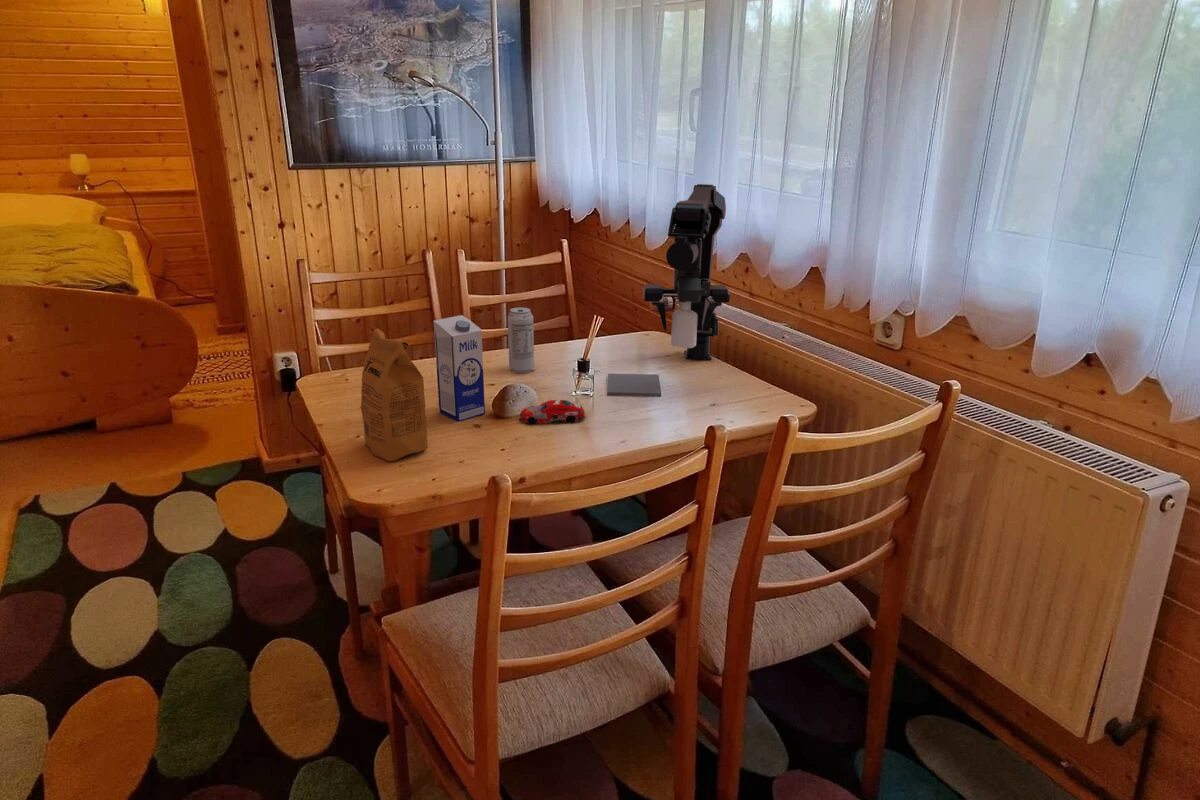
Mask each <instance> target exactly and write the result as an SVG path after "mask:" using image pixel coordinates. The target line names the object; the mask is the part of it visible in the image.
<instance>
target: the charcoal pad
mask: <svg viewBox="0 0 1200 800" xmlns="http://www.w3.org/2000/svg"><path fill="white" fill-rule="evenodd" d="M606 390H607V394H606V395H607V396H611V397H612V396H613V397H614V396H615V397H624V396H625V397H649V396H651V398H652V397H653V398H654V397H655V396H657V397H659V398H661V397H662V387H661V382H660V376H659V374H657V373H656V374H650V373H649V374H647V373H646V374H645V373H607V389H606ZM657 397H655V398H657Z"/></svg>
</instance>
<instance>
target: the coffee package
mask: <svg viewBox="0 0 1200 800" xmlns="http://www.w3.org/2000/svg"><path fill="white" fill-rule="evenodd" d="M409 348H410V345H409V343H408V342H407V341H405V340H400V339H390V338H389V339H388V338H386V334H385V333H384V332H383V331H382V330H380V328H375V329H374V330H373V332H372V337H371V340H370V343H369V345H368V349H367V353H366V356H365V358H364V361H363V362H364V364H363V370H362V372H361V375H362V377H361V397H360V398H361V400H360V402H361V403H360V410H361V411H360V413H361V415H362V416H361V417H362V422H363V435H364V440H365V441H364V443H365V446H366V447H368V448H369V449H370V450H371V452H372V453H373V455H374V456H375V455H376V456H375V457H377V456H378V458H380V457H381V458H380V459H383V460H385V461H387V462H395V461H397V460H399V459H402V458H403V457H405V456H407V455H410V454H415V453H420V452H422V451H424V450H425V449H428V447H429V445H428V416H427V415H426V400H425V399H426V398H425V383H424V377H423V375H422V373H421V371H420V370H419V369H418V367H417V366H416V365H415V363H414V362H413V360H411V358H410V357H409V355H408V353H407V352H406V350H407V349H409Z"/></svg>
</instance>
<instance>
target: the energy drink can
mask: <svg viewBox="0 0 1200 800" xmlns="http://www.w3.org/2000/svg"><path fill="white" fill-rule="evenodd" d="M531 310H532V309H531V308H529V307H521V306H519V307H513V308H510V309H509V311H510V312H509V313H508V316H507V339H508V341H507V342H508V367H509V369H510V370H511V372H513V373H515V374H528V373H531V372H532V371H533V369H534V367H535V347H534V344H535V343H534V340H535V337H534V315H533V314H532V311H531Z"/></svg>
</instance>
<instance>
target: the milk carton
mask: <svg viewBox="0 0 1200 800" xmlns="http://www.w3.org/2000/svg"><path fill="white" fill-rule="evenodd" d="M433 329H434V330H433V332H434V334H433V335H434V348H435V361H436V362H435V363H436V365H435V366H436V378H437V379H436V380H437V395H438V411H439V414H441V415H442V416H445V417H446V418H448V419H450V420H453V421H455V422H457V423H458V422H463V421H466V420H470V419H472V418H475V417H479V416H482V415H486V411H485V410H486V405H485V404H486V403H485V384H484V381H485V380H484V359H483V355H484V354H483V335H482V332H483V330H482V329H481V328H480V327H479V326H478V325H477V324H475V323H474V322H473V321H471V320H470V319H469V318H467V317H465V316H464V315H462V314H459V315H455V316H451V317H446V318H441V319H440V318H439V319H435V320H433Z"/></svg>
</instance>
